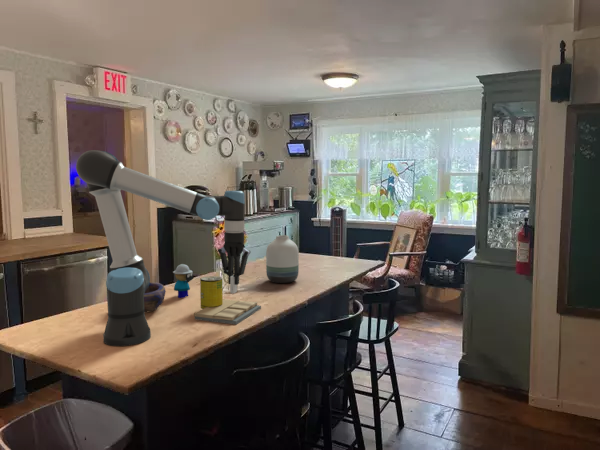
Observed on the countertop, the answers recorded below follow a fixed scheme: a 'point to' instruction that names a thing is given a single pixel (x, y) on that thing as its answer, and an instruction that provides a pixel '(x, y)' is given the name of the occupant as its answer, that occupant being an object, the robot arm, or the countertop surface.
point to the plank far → (243, 305)
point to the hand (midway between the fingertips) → (233, 292)
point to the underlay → (208, 313)
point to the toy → (183, 280)
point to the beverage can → (211, 291)
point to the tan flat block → (228, 314)
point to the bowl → (153, 296)
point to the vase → (282, 260)
